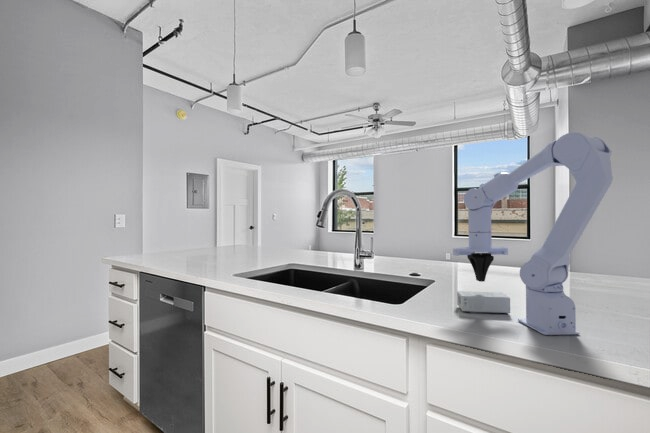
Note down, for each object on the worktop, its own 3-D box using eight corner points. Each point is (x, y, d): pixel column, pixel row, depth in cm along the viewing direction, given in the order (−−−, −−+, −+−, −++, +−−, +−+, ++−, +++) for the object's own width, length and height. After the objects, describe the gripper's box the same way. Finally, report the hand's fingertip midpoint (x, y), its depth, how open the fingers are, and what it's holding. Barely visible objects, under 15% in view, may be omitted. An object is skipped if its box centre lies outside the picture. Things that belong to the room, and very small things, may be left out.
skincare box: (462, 311, 84) (510, 313, 81) (461, 295, 84) (510, 297, 81) (456, 305, 90) (502, 306, 87) (456, 290, 90) (502, 291, 87)
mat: (509, 312, 83) (509, 311, 83) (470, 313, 83) (470, 311, 83) (494, 304, 90) (494, 303, 90) (458, 305, 90) (458, 304, 90)
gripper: (497, 231, 91) (498, 277, 91) (448, 231, 91) (448, 278, 91) (512, 232, 84) (513, 282, 84) (458, 233, 84) (459, 283, 84)
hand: (480, 280), depth 87 cm, fingers closed
